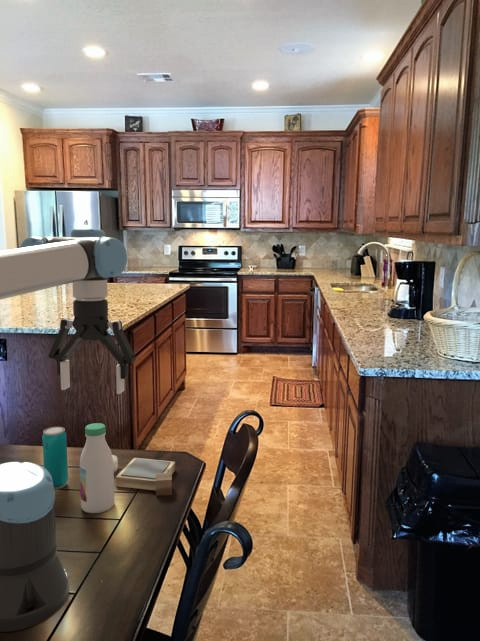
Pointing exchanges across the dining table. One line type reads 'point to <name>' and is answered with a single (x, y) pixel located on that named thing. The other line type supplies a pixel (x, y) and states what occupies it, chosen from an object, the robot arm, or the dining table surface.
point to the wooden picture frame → (143, 473)
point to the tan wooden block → (163, 484)
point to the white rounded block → (115, 463)
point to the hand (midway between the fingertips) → (92, 390)
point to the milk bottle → (96, 471)
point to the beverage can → (56, 455)
